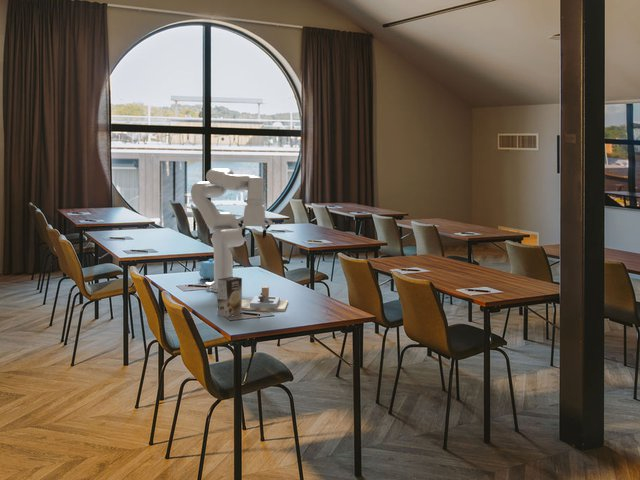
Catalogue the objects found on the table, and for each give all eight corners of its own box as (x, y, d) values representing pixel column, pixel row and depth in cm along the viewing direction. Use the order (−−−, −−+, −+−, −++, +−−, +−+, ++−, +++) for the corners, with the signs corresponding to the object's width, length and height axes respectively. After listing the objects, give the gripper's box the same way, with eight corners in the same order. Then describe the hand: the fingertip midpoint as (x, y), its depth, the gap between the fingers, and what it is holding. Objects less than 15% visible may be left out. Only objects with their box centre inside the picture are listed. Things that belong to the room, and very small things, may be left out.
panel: (250, 307, 318) (250, 290, 317) (254, 300, 334) (254, 283, 333) (276, 308, 318) (276, 290, 317) (279, 300, 333) (279, 284, 332)
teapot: (224, 281, 389) (224, 260, 387) (199, 281, 386) (199, 261, 385) (223, 276, 403) (223, 256, 402) (198, 276, 401) (198, 257, 400)
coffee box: (228, 317, 304) (228, 280, 302) (217, 315, 307) (217, 279, 305) (242, 313, 311) (242, 277, 309) (231, 311, 315) (231, 276, 313)
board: (236, 310, 317) (236, 298, 316) (241, 302, 335) (241, 290, 334) (284, 311, 316) (284, 299, 316) (287, 302, 334) (288, 291, 334)
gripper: (235, 202, 335) (234, 237, 337) (271, 204, 334) (270, 239, 336) (238, 200, 342) (237, 235, 345) (273, 202, 341) (272, 237, 344)
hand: (253, 237), depth 340 cm, fingers open, 9 cm apart
